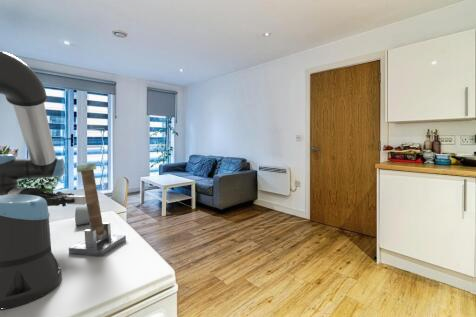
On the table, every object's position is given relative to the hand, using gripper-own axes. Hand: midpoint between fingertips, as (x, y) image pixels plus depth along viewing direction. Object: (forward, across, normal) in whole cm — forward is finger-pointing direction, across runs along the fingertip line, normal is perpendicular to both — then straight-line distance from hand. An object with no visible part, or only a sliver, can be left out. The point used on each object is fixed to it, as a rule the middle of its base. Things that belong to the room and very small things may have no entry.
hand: (84, 200), depth 84 cm
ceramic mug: (-19, -21, -16) cm, 33 cm away
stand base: (+5, +1, -16) cm, 17 cm away
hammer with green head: (+5, +1, -13) cm, 14 cm away
